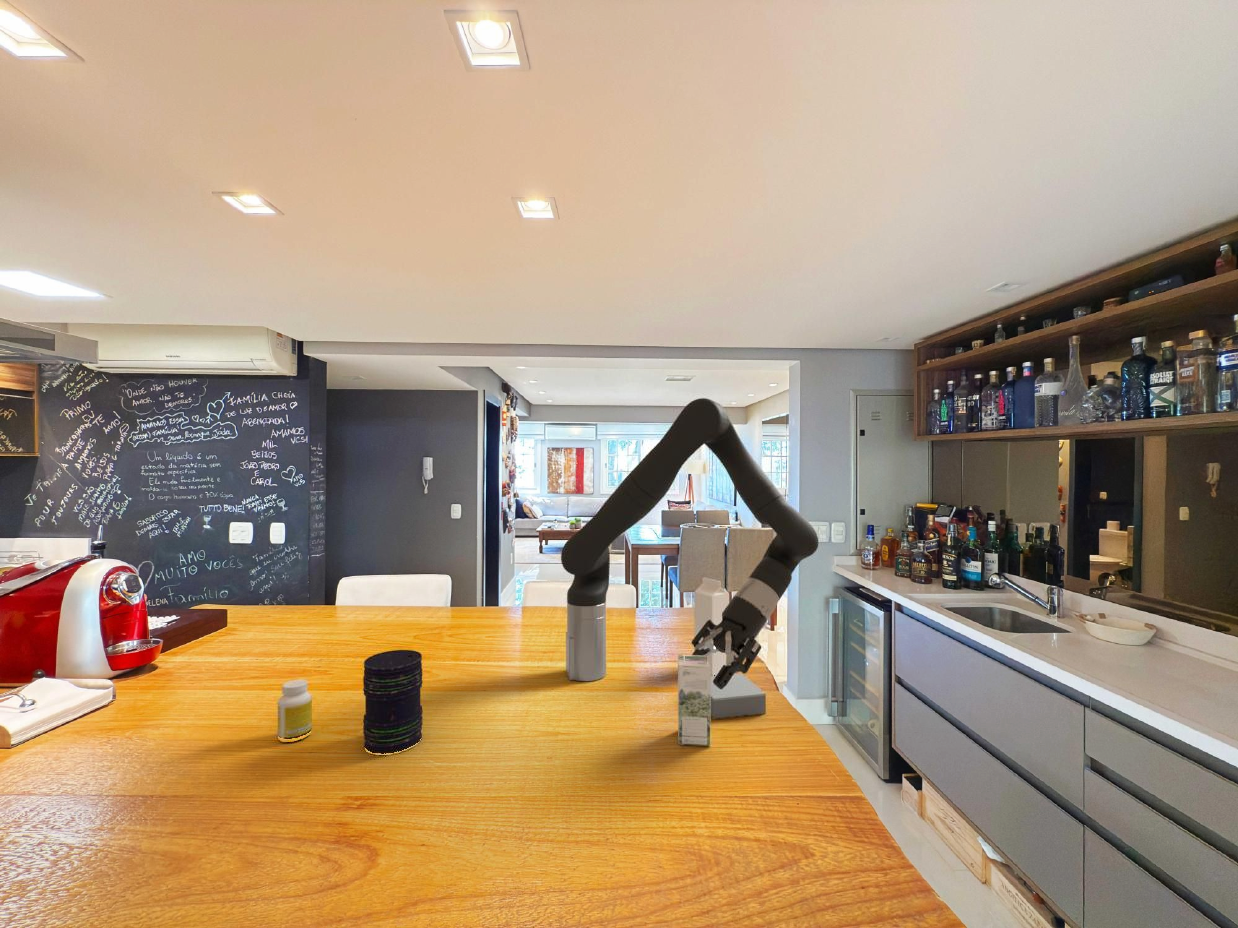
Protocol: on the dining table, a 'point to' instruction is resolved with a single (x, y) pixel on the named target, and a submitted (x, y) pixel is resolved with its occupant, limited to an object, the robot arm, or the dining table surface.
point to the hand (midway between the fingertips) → (702, 677)
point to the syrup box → (694, 700)
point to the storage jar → (392, 701)
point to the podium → (737, 698)
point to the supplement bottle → (294, 710)
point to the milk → (710, 615)
